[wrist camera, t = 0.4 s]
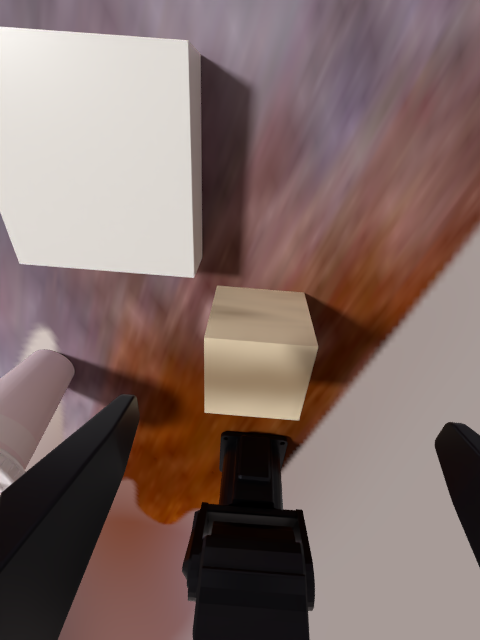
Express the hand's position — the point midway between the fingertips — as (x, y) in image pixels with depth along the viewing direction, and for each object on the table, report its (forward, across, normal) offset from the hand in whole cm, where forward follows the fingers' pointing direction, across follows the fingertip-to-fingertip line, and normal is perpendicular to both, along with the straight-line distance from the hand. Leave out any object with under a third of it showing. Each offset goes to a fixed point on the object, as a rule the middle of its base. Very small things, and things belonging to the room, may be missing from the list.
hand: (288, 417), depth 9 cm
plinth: (+12, +10, -5) cm, 16 cm away
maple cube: (+13, 0, +5) cm, 14 cm away
